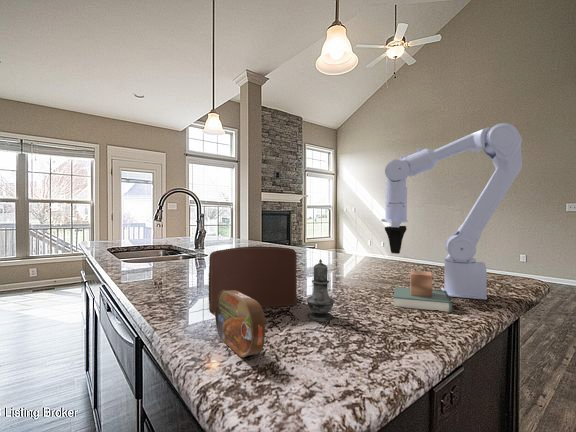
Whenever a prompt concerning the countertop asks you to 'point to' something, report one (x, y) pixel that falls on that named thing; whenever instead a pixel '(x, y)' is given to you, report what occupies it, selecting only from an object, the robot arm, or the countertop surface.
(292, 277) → the letter holder
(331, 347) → the countertop surface
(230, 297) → the tin
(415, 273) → the block
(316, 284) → the salt shaker
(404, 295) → the book
